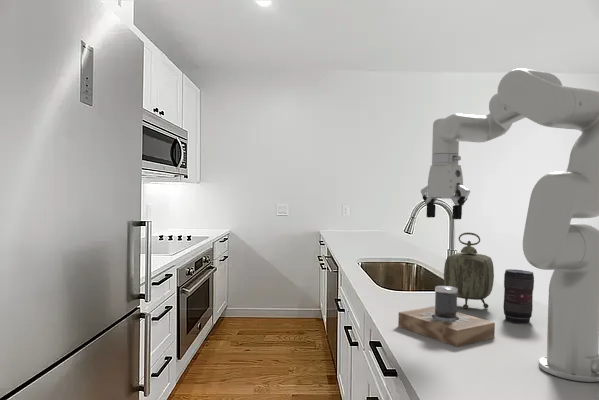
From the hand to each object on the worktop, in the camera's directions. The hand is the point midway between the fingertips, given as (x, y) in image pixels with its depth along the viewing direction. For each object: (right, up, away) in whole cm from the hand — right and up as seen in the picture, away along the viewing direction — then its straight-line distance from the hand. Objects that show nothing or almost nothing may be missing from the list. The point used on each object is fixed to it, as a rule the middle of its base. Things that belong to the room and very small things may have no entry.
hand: (443, 218), depth 140 cm
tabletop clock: (+13, -31, +16) cm, 37 cm away
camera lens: (+23, -31, +1) cm, 38 cm away
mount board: (-3, -30, -12) cm, 33 cm away
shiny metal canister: (-3, -30, -12) cm, 33 cm away
